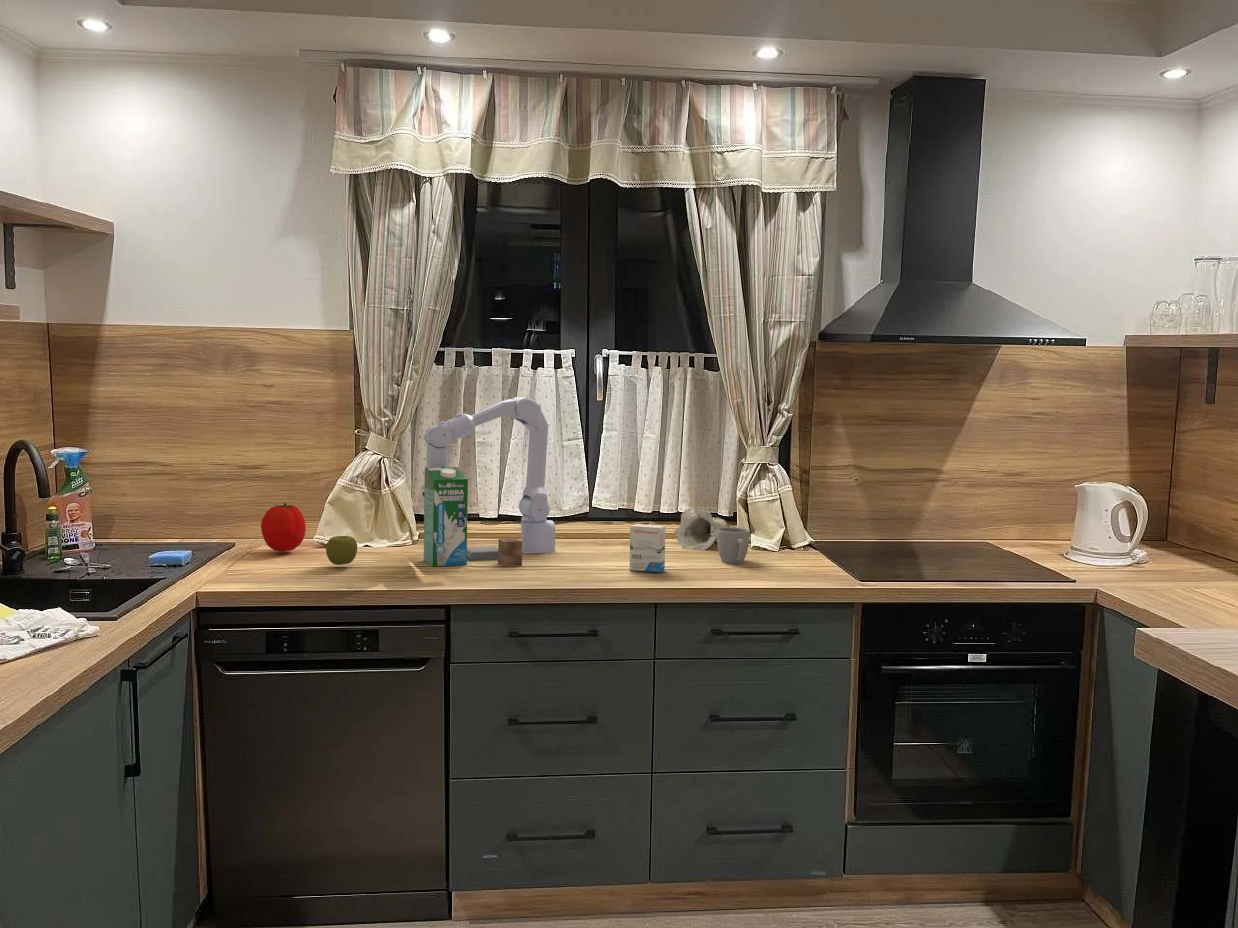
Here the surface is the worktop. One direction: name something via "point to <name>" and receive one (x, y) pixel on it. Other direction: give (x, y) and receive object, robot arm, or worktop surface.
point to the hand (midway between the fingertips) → (436, 519)
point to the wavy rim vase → (698, 529)
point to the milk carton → (445, 516)
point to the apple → (341, 549)
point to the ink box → (647, 548)
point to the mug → (733, 544)
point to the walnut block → (510, 552)
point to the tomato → (283, 527)
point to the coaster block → (482, 553)
